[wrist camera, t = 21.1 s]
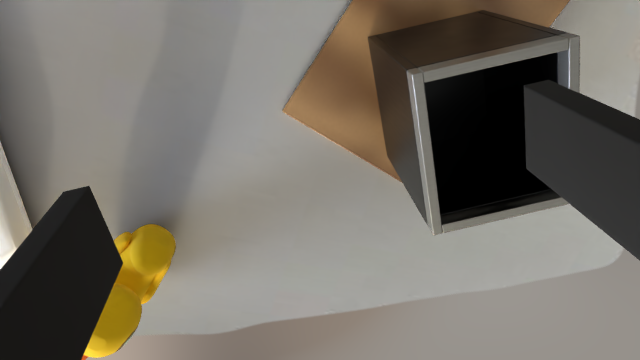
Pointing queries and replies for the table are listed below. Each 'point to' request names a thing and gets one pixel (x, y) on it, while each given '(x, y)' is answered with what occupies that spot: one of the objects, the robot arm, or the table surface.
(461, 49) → the desk bin
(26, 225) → the white piece
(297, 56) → the table surface
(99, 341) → the duckling
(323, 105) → the wooden board
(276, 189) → the table surface
